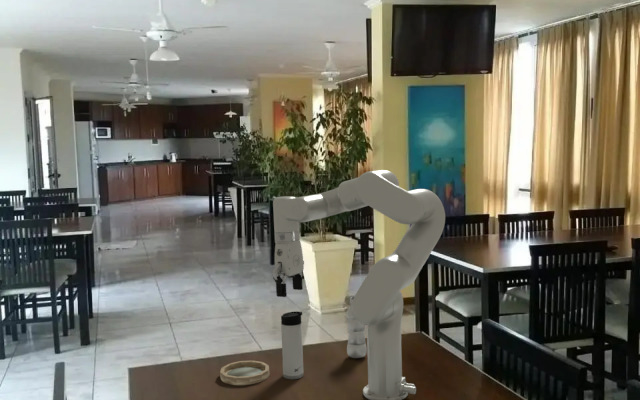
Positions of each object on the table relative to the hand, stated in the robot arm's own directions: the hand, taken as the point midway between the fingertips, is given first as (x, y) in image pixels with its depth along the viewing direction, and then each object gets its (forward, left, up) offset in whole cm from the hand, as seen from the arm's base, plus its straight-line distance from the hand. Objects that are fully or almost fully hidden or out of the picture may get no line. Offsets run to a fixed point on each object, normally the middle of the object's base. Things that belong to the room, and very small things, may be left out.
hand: (289, 292), depth 188 cm
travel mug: (0, 0, -26) cm, 26 cm away
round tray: (+14, +6, -26) cm, 30 cm away
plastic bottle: (-11, -23, -26) cm, 37 cm away
